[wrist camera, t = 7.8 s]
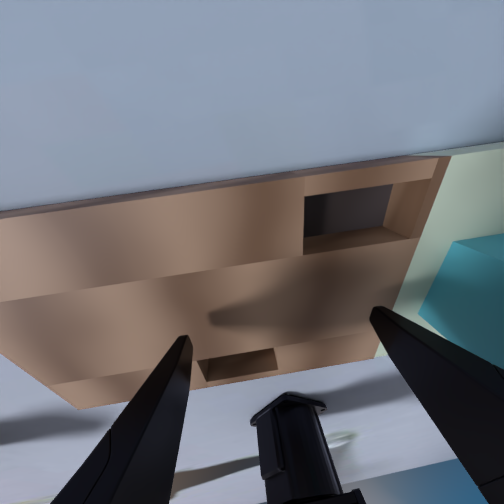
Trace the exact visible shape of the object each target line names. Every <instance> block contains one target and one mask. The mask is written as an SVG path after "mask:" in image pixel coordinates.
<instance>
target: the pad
mask: <svg viewBox="0 0 504 504" xmlns="http://www.w3.org/2000/svg"><path fill="white" fill-rule="evenodd" d="M412 155H413V156H452V157H451V160H450V162H449V165H448V167H447V170H446V173H445V175H444V178H443V180H442V183H441V186H440V188H439V191H438V193H437V196H436V199H435V201H434V204H433V206H432V209H431V212H430V214H429V217H428V219H427V222H426V224H425V227H424V230H423V232H422V235H421V237H420V240H419V243H418V245H417V248H416V250H415V253H414V256H413V258H412V261H411V263H410V266H409V268H408V271H407V274H406V276H405V279H404V281H403V284H402V287H401V289H400V292H399V294H398V297H397V300H396V302H395V305H394V307H393V310H392V311H394V312H396V313H398V314H400V315H401V316H403V317H405V318H407V319H409V320H411V321H413V322H415V323H417V324H418V325H420V326H422V327H424V328H426V329H428V330H430V331H432V332H434V333H435V334H437V335H439V336H441V337H443V338H445V337H444V336H443V335H441V334H440V333H439V332H438V331H437V330H436V329H435V328H433V327H432V326H431V325H430V324H429V323H428V322H426V321H425V320H424V319H423V318H422V317H421V316H419V315H418V312H419V310H420V308H421V306H422V304H423V302H424V299H425V297H426V295H427V293H428V291H429V289H430V287H431V285H432V283H433V281H434V279H435V277H436V275H437V273H438V271H439V269H440V267H441V265H442V263H443V261H444V259H445V257H446V254H447V252H448V250H449V248H450V246H451V244H452V242H453V241H458V240H464V239H471V238H477V237H483V236H490V235H496V234H503V233H504V142H498V143H491V144H484V145H476V146H469V147H462V148H455V149H448V150H440V151H433V152H426V153H419V154H412ZM445 339H446V338H445ZM386 355H388V354H387V352H386V350H385V349H384V347H383V345H382V343H381V341H380V344H379V346H378V349H377V351H376V354H375V357H380V356H386Z"/></svg>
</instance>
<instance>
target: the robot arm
mask: <svg viewBox="0 0 504 504" xmlns="http://www.w3.org/2000/svg"><path fill="white" fill-rule="evenodd" d="M369 321H370V323H371V325H372V327H373V329H374V331H375V332H376V334H377V336H378V338H379V340H380V341H381V343H382V345H383V347H384V349H385V350H386V352H387V354H388V355H389V357H390V358H391V360H392V361H393V363H394V364H395V366H396V367H397V369H398V370H399V372H400V373H401V375H402V376H403V378H404V379H405V380H406V382H407V383H408V385H409V386H410V388H411V389H412V391H413V392H414V394H415V395H416V397H417V398H418V400H419V401H420V403H421V404H422V406H423V407H424V409H425V410H426V412H427V413H428V414H429V416H430V417H431V419H432V420H433V422H434V423H435V425H436V426H437V428H438V429H439V431H440V432H441V434H442V435H443V437H444V438H445V440H446V441H447V443H448V444H449V445H450V447H451V448H452V450H453V451H454V453H455V454H456V456H457V457H458V459H459V460H460V462H461V463H462V465H463V466H464V468H465V469H466V470H467V472H468V474H469V475H470V477H471V478H472V479H473V481H474V482H475V484H476V485H477V486H478V489H479V490H480V491H481V493H482V495H483V496H484V497H485V499H486V500H487V502H488V503H489V504H504V369H502V368H500V367H498V366H496V365H494V364H491V363H490V362H488V361H487V360H485V359H483V358H481V357H479V356H477V355H475V354H473V353H471V352H469V351H468V350H466V349H464V348H462V347H460V346H458V345H456V344H454V343H452V342H451V341H449V340H447V339H445V338H443V337H441V336H439V335H437V334H435V333H434V332H432V331H430V330H428V329H426V328H424V327H422V326H420V325H418V324H417V323H415V322H413V321H411V320H409V319H407V318H405V317H403V316H401V315H400V314H398V313H396V312H394V311H392V310H390V309H388V308H386V307H384V306H375V307H373V308H372V311H371V314H370V317H369ZM192 358H193V345H192V342H191V340H190V337H189V335H181V336H179V337H178V338H177V339H176V340H175V342H174V343H173V344H172V346H171V347H170V348H169V350H168V351H167V352H166V354H165V355H164V356H163V358H162V359H161V360H160V362H159V363H158V364H157V366H156V367H155V368H154V370H153V371H152V372H151V374H150V375H149V376H148V378H147V379H146V381H145V382H144V383H143V385H142V386H141V387H140V389H139V390H138V391H137V393H136V394H135V395H134V397H133V398H132V399H131V401H130V402H129V403H128V405H127V406H126V407H125V409H124V410H123V411H122V413H121V414H120V415H119V417H118V418H117V419H116V421H115V422H114V423H113V425H112V426H111V429H109V430H108V431H107V433H106V434H105V435H104V437H103V438H102V439H101V441H100V442H99V443H98V445H97V446H96V447H95V449H94V450H93V451H92V452H91V454H90V455H89V456H88V458H87V459H86V460H85V462H84V463H83V464H82V465H81V467H80V468H79V469H78V470H77V472H76V473H75V474H74V475H73V476H72V478H71V479H70V480H69V481H68V483H67V484H66V485H65V486H64V488H63V489H62V490H61V491H60V492H59V494H58V495H57V496H56V497H55V498H54V500H53V501H52V502H51V503H50V504H169V500H170V495H171V489H172V483H173V478H174V473H175V467H176V462H177V456H178V451H179V445H180V440H181V434H182V429H183V423H184V418H185V412H186V407H187V401H188V396H189V390H190V382H191V370H192ZM326 410H327V407H326V404H324V403H320V402H315V401H311V400H307V399H302V398H298V397H294V396H290V395H283V396H281V397H280V398H278V399H277V400H276V401H274V402H273V403H272V404H270V405H269V406H268V407H266V408H265V409H264V410H262V411H261V412H260V413H258V414H257V415H256V416H254V417H253V418H252V419H251V420H250V425H251V426H254V427H257V437H258V448H259V458H260V470H261V477H262V479H263V480H265V487H266V496H267V504H366V503H365V500H364V498H363V496H362V493H361V491H360V489H359V488H358V489H353V490H352V491H351V492H349V493H343V490H342V487H341V484H340V481H339V478H338V475H337V472H336V469H335V466H334V463H333V460H332V457H331V454H330V451H329V448H328V445H327V442H326V439H325V436H324V433H323V430H322V427H321V424H320V420H319V417H318V415H320V414H321V413H323V412H325V411H326Z"/></svg>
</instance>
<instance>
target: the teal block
mask: <svg viewBox="0 0 504 504" xmlns="http://www.w3.org/2000/svg"><path fill="white" fill-rule="evenodd" d="M418 315H419V316H421V317H422V318H423V319H424V320H425V321H426V322H428V323H429V324H430V325H431V326H432V327H433V328H435V329H436V330H437V331H438V332H439V333H440V334H441V335H443V336H444V337H445V338H446V339H447V340H449V341H451V342H452V343H454V344H456V345H458V346H460V347H462V348H464V349H466V350H468V351H469V352H471V353H473V354H475V355H477V356H479V357H481V358H483V359H485V360H487V361H488V362H490V363H491V364H494V365H496V366H498V367H500V368H502V369H504V233H503V234H496V235H490V236H483V237H477V238H471V239H464V240H458V241H453V242H452V244H451V246H450V248H449V250H448V252H447V254H446V257H445V259H444V261H443V263H442V265H441V267H440V269H439V271H438V273H437V275H436V277H435V279H434V281H433V283H432V285H431V287H430V289H429V291H428V293H427V295H426V297H425V299H424V302H423V304H422V306H421V308H420V310H419V312H418Z"/></svg>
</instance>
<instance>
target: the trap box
mask: <svg viewBox="0 0 504 504" xmlns="http://www.w3.org/2000/svg"><path fill="white" fill-rule="evenodd" d="M451 157H452V156H413V155H405V156H398V157H390V158H383V159H376V160H369V161H362V162H354V163H347V164H340V165H333V166H326V167H318V168H311V169H304V170H297V171H289V172H282V173H275V174H268V175H261V176H253V177H246V178H239V179H232V180H224V181H217V182H210V183H203V184H196V185H188V186H181V187H174V188H167V189H160V190H152V191H145V192H138V193H131V194H123V195H116V196H109V197H102V198H95V199H87V200H80V201H73V202H66V203H59V204H51V205H44V206H37V207H30V208H22V209H15V210H8V211H1V212H0V354H2V355H3V356H5V357H6V358H7V359H9V360H10V361H11V362H13V363H14V364H16V365H17V366H18V367H20V368H21V369H23V370H24V371H25V372H27V373H28V374H29V375H31V376H32V377H34V378H35V379H36V380H38V381H39V382H41V383H42V384H43V385H45V386H46V387H48V388H49V389H50V390H52V391H53V392H54V393H56V394H57V395H59V396H60V397H61V398H63V399H64V400H66V401H67V402H68V403H70V404H71V405H72V406H74V407H75V408H77V409H78V410H81V409H87V408H92V407H98V406H104V405H110V404H115V403H121V402H127V401H131V399H132V398H133V397H134V395H135V394H136V393H137V391H138V390H139V389H140V387H141V386H142V385H143V383H144V382H145V381H146V379H147V378H148V376H149V375H150V374H151V372H152V371H153V370H154V368H155V367H156V366H157V364H158V363H159V362H160V360H161V359H162V358H163V356H164V355H165V354H166V352H167V351H168V350H169V348H170V347H171V346H172V344H173V343H174V342H175V340H176V339H177V338H178V337H179V336H181V335H189V337H190V340H191V342H192V345H193V358H192V370H191V382H190V390H196V389H201V388H207V387H213V386H218V385H224V384H230V383H236V382H241V381H247V380H253V379H259V378H264V377H270V376H276V375H281V374H287V373H293V372H299V371H304V370H310V369H316V368H322V367H327V366H333V365H339V364H344V363H350V362H356V361H362V360H367V359H373V358H374V357H375V354H376V351H377V349H378V346H379V344H380V340H379V338H378V336H377V334H376V332H375V331H374V329H373V327H372V325H371V323H370V321H369V317H370V314H371V311H372V308H373V307H375V306H384V307H386V308H388V309H390V310H393V307H394V305H395V302H396V300H397V297H398V294H399V292H400V289H401V287H402V284H403V281H404V279H405V276H406V274H407V271H408V268H409V266H410V263H411V261H412V258H413V256H414V253H415V250H416V248H417V245H418V243H419V240H420V237H421V235H422V232H423V230H424V227H425V224H426V222H427V219H428V217H429V214H430V212H431V209H432V206H433V204H434V201H435V199H436V196H437V193H438V191H439V188H440V186H441V183H442V180H443V178H444V175H445V173H446V170H447V167H448V165H449V162H450V160H451ZM190 390H189V391H190Z"/></svg>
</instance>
